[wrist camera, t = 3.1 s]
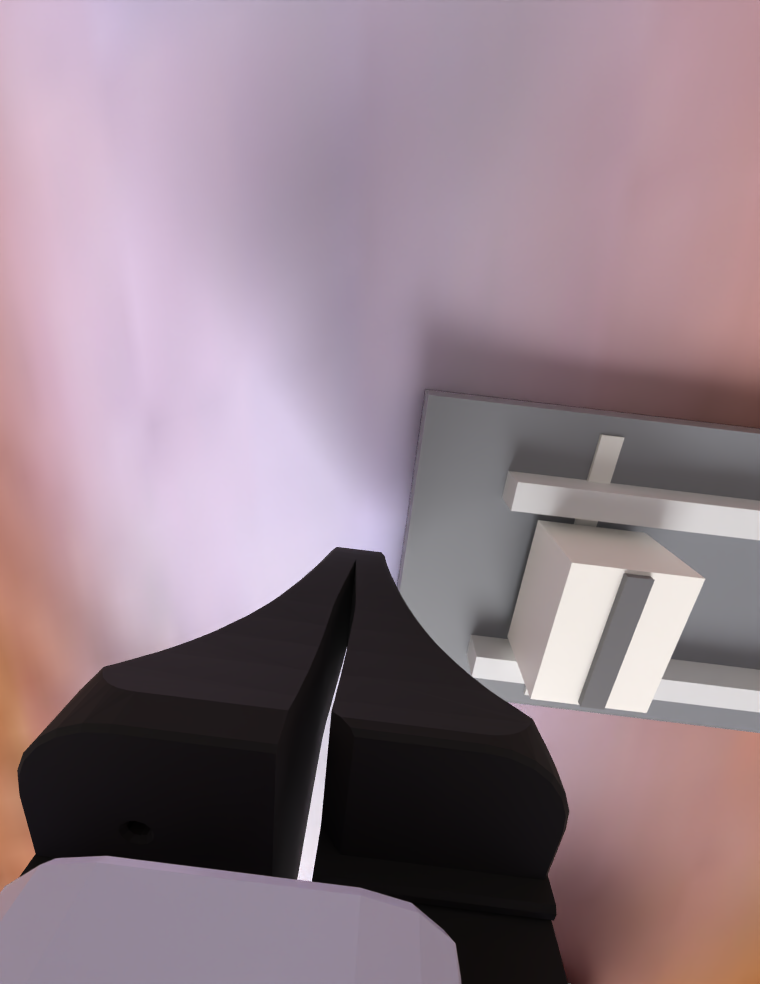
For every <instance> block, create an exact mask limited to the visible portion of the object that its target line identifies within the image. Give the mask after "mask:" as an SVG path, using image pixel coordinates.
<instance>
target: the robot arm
mask: <svg viewBox="0 0 760 984" xmlns="http://www.w3.org/2000/svg"><path fill="white" fill-rule="evenodd" d="M346 649H347V652H346ZM345 652H346V656H345ZM344 656H345V660H344V665H343V669H342V673H341V677H340V681H339V685H338V689H337V693H336V697H335V701H334V704H333V708H332V713H331V724H330V734H329V745H328V756H327V767H326V778H325V789H324V800H323V810H322V821H321V829H320V835H319V841H318V847H317V853H316V859H315V866H314V872H313V878H312V882H311V881H303V880H297V877H298V871H299V866H300V860H301V854H302V848H303V843H304V837H305V831H306V826H307V820H308V814H309V809H310V803H311V797H312V792H313V786H314V781H315V775H316V770H317V764H318V759H319V753H320V748H321V742H322V737H323V733H324V729H325V725H326V721H327V717H328V713H329V710H330V706H331V703H332V699H333V695H334V692H335V688H336V685H337V681H338V678H339V674H340V670H341V667H342V663H343V659H344ZM17 771H18V782H19V793H20V798H21V802H22V805H23V809H24V813H25V816H26V820H27V824H28V827H29V831H30V835H31V838H32V842H33V845H34V849H35V853H36V854H35V856H34V857H33V859H32V860H31V861H30V863H29V864H28V866H27V867H26V868H25V870H24V871H23V873H22V874H21V875H20V877H19V878H18V879H16V880H14V881H13V882H11V883H10V884H8V885H6V886H5V887H4V889H3V890H2V891H1V893H0V984H569V983H568V982H567V978H566V975H565V971H564V967H563V963H562V959H561V956H560V952H559V948H558V944H557V940H556V937H555V933H554V929H553V925H552V921H551V920H554V919H555V917H556V904H555V900H554V897H553V893H552V889H551V886H550V882H549V879H548V872H549V870H550V867H551V865H552V862H553V860H554V857H555V855H556V852H557V850H558V847H559V845H560V842H561V840H562V837H563V835H564V832H565V830H566V825H567V820H568V815H569V808H568V803H567V798H566V793H565V791H564V788H563V785H562V782H561V780H560V777H559V774H558V772H557V769H556V767H555V764H554V762H553V760H552V758H551V755H550V753H549V751H548V749H547V747H546V745H545V743H544V741H543V739H542V737H541V735H540V733H539V731H538V729H537V727H536V725H535V723H534V721H533V719H532V718H530V717H529V716H527V715H526V714H524V713H523V712H521V711H520V710H518V709H517V708H515V707H514V706H512V705H511V704H509V703H508V702H506V701H505V700H503V699H502V698H500V697H499V696H497V695H496V694H494V693H493V692H491V691H490V690H489V689H487V688H486V687H485V686H483V685H482V684H481V683H480V682H478V681H477V680H476V679H475V678H473V677H472V676H471V675H470V674H468V673H467V672H466V671H465V670H464V669H463V668H461V667H460V666H459V665H458V664H457V663H456V662H455V661H454V660H453V659H452V658H451V657H449V656H448V655H447V654H446V653H445V652H444V651H443V650H442V649H441V648H440V647H439V646H438V645H437V644H436V643H435V641H434V640H433V639H432V638H431V637H430V636H429V635H428V633H427V632H426V631H425V630H424V628H423V627H422V626H421V624H420V623H419V622H418V620H417V619H416V618H415V616H414V615H413V613H412V612H411V610H410V609H409V607H408V606H407V604H406V602H405V601H404V599H403V597H402V596H401V594H400V592H399V590H398V588H397V586H396V584H395V582H394V580H393V578H392V576H391V574H390V571H389V569H388V566H387V563H386V560H385V556H384V555H383V554H382V553H381V552H374V551H365V550H357V549H349V548H341V547H336V548H335V549H333V550H332V551H331V552H330V553H329V554H328V555H327V556H326V557H325V558H324V559H323V560H322V561H321V562H320V563H319V564H318V565H317V566H316V567H315V568H314V569H313V570H312V571H310V572H309V573H308V574H307V575H306V576H305V577H303V578H302V579H301V580H300V581H299V582H298V583H296V584H295V585H294V586H292V587H291V588H290V589H288V590H287V591H286V592H284V593H283V594H282V595H280V596H279V597H278V598H276V599H275V600H273V601H272V602H270V603H269V604H267V605H265V606H264V607H262V608H260V609H258V610H257V611H255V612H253V613H251V614H250V615H248V616H246V617H244V618H242V619H239V620H237V621H235V622H233V623H231V624H229V625H227V626H225V627H223V628H221V629H219V630H217V631H214V632H212V633H209V634H207V635H204V636H202V637H199V638H197V639H194V640H192V641H189V642H186V643H183V644H181V645H178V646H175V647H172V648H169V649H166V650H163V651H160V652H156V653H153V654H149V655H146V656H142V657H139V658H135V659H132V660H128V661H125V662H121V663H118V664H114V665H110V666H106V667H103V668H102V669H101V670H100V671H99V672H98V673H97V674H96V675H95V676H94V677H93V678H92V679H91V680H90V681H89V682H88V683H87V684H86V685H85V686H84V687H83V688H82V689H81V690H80V691H79V692H78V693H77V694H76V695H75V697H74V698H73V699H72V700H71V701H70V702H69V703H68V704H67V705H66V707H65V708H64V709H63V710H62V711H61V712H60V713H59V714H58V715H57V716H56V718H55V719H54V720H53V721H52V722H51V723H50V724H49V725H48V726H47V728H46V729H45V730H44V731H43V732H42V733H41V734H40V735H39V736H38V737H37V739H36V740H35V741H34V742H33V743H32V744H31V745H30V746H29V747H28V748H27V749H26V751H25V752H24V753H23V755H22V758H21V761H20V764H19V767H18V770H17Z"/></svg>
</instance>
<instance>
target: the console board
mask: <svg viewBox="0 0 760 984" xmlns="http://www.w3.org/2000/svg"><path fill="white" fill-rule="evenodd" d="M538 520H542V521H550V522H559V523H567V524H575V525H584V526H592V527H601V528H609V529H617V530H626V531H634V532H642V533H646V534H647V535H649V536H650V537H651V538H653V539H654V540H655V541H656V542H658V543H659V544H660V545H662V546H663V547H664V548H666V549H667V550H668V551H670V552H671V553H672V554H674V555H675V556H676V557H678V558H679V559H680V560H681V561H683V562H684V563H685V564H687V565H688V566H689V567H691V568H692V569H693V570H695V571H696V572H697V573H699V574H700V575H701V576H702V577H704V578H705V581H704V583H703V586H702V588H701V590H700V592H699V595H698V597H697V599H696V602H695V604H694V606H693V608H692V611H691V613H690V615H689V618H688V620H687V622H686V624H685V627H684V629H683V631H682V633H681V636H680V638H679V640H678V643H677V645H676V647H675V649H674V652H673V654H672V656H671V659H670V661H669V663H668V665H667V668H666V670H665V672H664V675H663V677H662V679H661V681H660V684H659V686H658V688H657V691H656V693H655V695H654V697H653V700H652V702H651V704H650V706H649V709H648V711H647V713H642V712H634V711H625V710H617V709H609V708H605V709H604V710H603V709H595V708H586V707H580V705H576V704H568V703H560V702H552V701H544V700H535V699H530V696H529V694H528V691H527V688H526V686H525V683H524V680H523V677H522V675H521V672H520V669H519V667H518V664H517V661H516V659H515V656H514V653H513V650H512V648H511V645H510V642H509V640H508V637H507V636H508V632H509V629H510V625H511V621H512V617H513V613H514V610H515V606H516V602H517V598H518V595H519V591H520V587H521V583H522V579H523V576H524V572H525V568H526V564H527V560H528V557H529V553H530V549H531V545H532V541H533V538H534V534H535V530H536V526H537V522H538ZM397 588H398V590H399V592H400V594H401V596H402V597H403V599H404V601H405V602H406V604H407V606H408V607H409V609H410V610H411V612H412V613H413V615H414V616H415V618H416V619H417V620H418V622H419V623H420V624H421V626H422V627H423V628H424V630H425V631H426V632H427V633H428V635H429V636H430V637H431V638H432V639H433V640H434V641H435V643H436V644H437V645H438V646H439V647H440V648H441V649H442V650H443V651H444V652H445V653H446V654H447V655H448V656H449V657H451V658H452V659H453V660H454V661H455V662H456V663H457V664H458V665H459V666H460V667H461V668H463V669H464V670H465V671H466V672H467V673H468V674H470V675H471V676H472V677H473V678H475V679H476V680H477V681H478V682H480V683H481V684H482V685H483V686H485V687H486V688H487V689H489V690H490V691H491V692H493V693H494V694H496V695H497V696H499V697H500V698H502V699H503V700H505V701H506V702H510V703H519V704H527V705H535V706H543V707H551V708H559V709H568V710H576V711H584V712H592V713H600V714H609V715H617V716H625V717H633V718H641V719H649V720H658V721H666V722H674V723H682V724H690V725H698V726H707V727H715V728H723V729H731V730H739V731H747V732H756V733H760V429H759V428H750V427H742V426H733V425H725V424H716V423H708V422H699V421H691V420H682V419H674V418H665V417H657V416H648V415H640V414H631V413H623V412H614V411H606V410H597V409H589V408H580V407H572V406H563V405H555V404H546V403H538V402H529V401H521V400H512V399H504V398H495V397H487V396H478V395H470V394H461V393H453V392H444V391H436V390H427V389H425V396H424V403H423V410H422V417H421V424H420V431H419V438H418V445H417V452H416V459H415V466H414V473H413V480H412V487H411V493H410V500H409V507H408V514H407V521H406V528H405V535H404V542H403V549H402V556H401V563H400V570H399V577H398V584H397Z"/></svg>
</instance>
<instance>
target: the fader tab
mask: <svg viewBox="0 0 760 984" xmlns="http://www.w3.org/2000/svg"><path fill="white" fill-rule="evenodd" d="M704 581H705V578H704V577H702V576H701V575H700V574H699V573H697V572H696V571H695V570H693V569H692V568H691V567H689V566H688V565H687V564H685V563H684V562H683V561H681V560H680V559H679V558H678V557H676V556H675V555H674V554H672V553H671V552H670V551H668V550H667V549H666V548H664V547H663V546H662V545H660V544H659V543H658V542H656V541H655V540H654V539H653V538H651V537H650V536H649V535H647V534H646V533H642V532H634V531H626V530H617V529H609V528H601V527H592V526H584V525H575V524H567V523H559V522H550V521H542V520H538V522H537V526H536V530H535V534H534V538H533V541H532V545H531V549H530V553H529V557H528V560H527V564H526V568H525V572H524V576H523V579H522V583H521V587H520V591H519V595H518V598H517V602H516V606H515V610H514V613H513V617H512V621H511V625H510V629H509V632H508V636H507V637H508V640H509V642H510V645H511V648H512V650H513V653H514V656H515V659H516V661H517V664H518V667H519V669H520V672H521V675H522V677H523V680H524V683H525V686H526V688H527V691H528V694H529V696H530V699H535V700H544V701H552V702H560V703H568V704H576V705H580V707H586V708H595V709H603V710H604V709H605V708H609V709H617V710H625V711H634V712H642V713H647V711H648V709H649V706H650V704H651V702H652V700H653V697H654V695H655V693H656V691H657V688H658V686H659V684H660V681H661V679H662V677H663V675H664V672H665V670H666V668H667V665H668V663H669V661H670V659H671V656H672V654H673V652H674V649H675V647H676V645H677V643H678V640H679V638H680V636H681V633H682V631H683V629H684V627H685V624H686V622H687V620H688V618H689V615H690V613H691V611H692V608H693V606H694V604H695V602H696V599H697V597H698V595H699V592H700V590H701V588H702V586H703V583H704Z"/></svg>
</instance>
